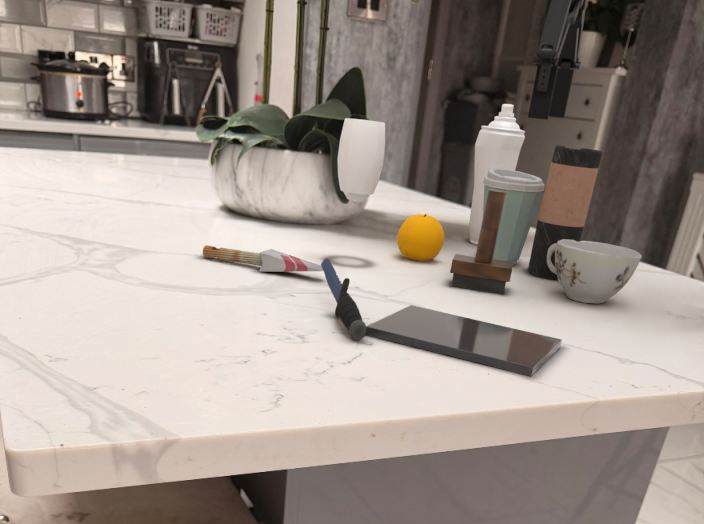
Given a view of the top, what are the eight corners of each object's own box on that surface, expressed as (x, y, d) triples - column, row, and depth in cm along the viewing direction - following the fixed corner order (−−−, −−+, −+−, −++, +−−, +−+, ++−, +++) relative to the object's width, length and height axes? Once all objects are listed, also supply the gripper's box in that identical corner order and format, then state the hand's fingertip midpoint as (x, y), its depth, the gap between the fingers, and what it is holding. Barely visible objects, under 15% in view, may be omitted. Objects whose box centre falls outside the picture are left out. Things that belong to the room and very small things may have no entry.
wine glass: (379, 263, 126) (397, 124, 116) (354, 268, 121) (371, 122, 111) (343, 254, 130) (358, 118, 120) (318, 259, 124) (331, 117, 114)
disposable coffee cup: (539, 266, 138) (560, 177, 131) (501, 270, 132) (521, 176, 124) (494, 254, 145) (511, 168, 138) (456, 256, 139) (472, 167, 131)
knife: (354, 308, 84) (343, 349, 87) (374, 311, 85) (362, 352, 88) (318, 238, 103) (309, 274, 106) (334, 242, 104) (326, 277, 107)
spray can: (453, 241, 152) (478, 100, 140) (461, 234, 161) (485, 101, 149) (511, 251, 150) (542, 107, 138) (516, 243, 159) (545, 108, 146)
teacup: (643, 307, 118) (660, 253, 114) (595, 313, 111) (611, 257, 107) (564, 283, 128) (577, 233, 124) (515, 287, 121) (527, 235, 117)
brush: (507, 288, 119) (528, 193, 113) (506, 295, 115) (528, 196, 108) (450, 279, 121) (467, 185, 114) (447, 286, 117) (465, 188, 110)
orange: (420, 253, 138) (427, 209, 134) (449, 263, 132) (457, 218, 129) (385, 254, 134) (392, 209, 130) (413, 264, 128) (421, 217, 125)
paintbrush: (320, 261, 108) (198, 243, 115) (319, 280, 109) (199, 262, 116) (331, 257, 111) (212, 240, 118) (329, 276, 112) (212, 258, 119)
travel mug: (555, 282, 128) (587, 151, 118) (517, 271, 132) (545, 144, 122) (578, 278, 132) (612, 152, 123) (541, 268, 137) (570, 146, 127)
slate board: (560, 347, 93) (562, 339, 93) (530, 376, 82) (533, 367, 82) (409, 312, 101) (411, 305, 100) (364, 334, 90) (365, 326, 89)
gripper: (569, -46, 114) (538, 113, 124) (535, -77, 94) (502, 116, 104) (621, -45, 111) (584, 118, 122) (598, -76, 91) (557, 122, 102)
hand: (546, 118), depth 113 cm, fingers open, 13 cm apart
